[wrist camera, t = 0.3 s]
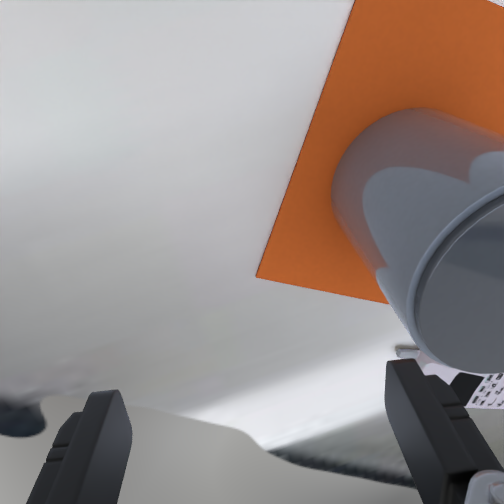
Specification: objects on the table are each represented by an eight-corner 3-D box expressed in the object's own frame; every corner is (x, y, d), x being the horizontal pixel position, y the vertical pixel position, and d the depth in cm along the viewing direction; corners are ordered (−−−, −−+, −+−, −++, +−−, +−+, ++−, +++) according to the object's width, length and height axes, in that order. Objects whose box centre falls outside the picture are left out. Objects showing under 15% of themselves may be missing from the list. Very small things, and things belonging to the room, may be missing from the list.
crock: (369, 85, 29) (499, 139, 16) (508, 132, 32) (711, 210, 19) (308, 235, 34) (370, 362, 22) (432, 264, 37) (551, 392, 24)
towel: (372, -48, 25) (373, -48, 25) (595, 47, 30) (599, 47, 29) (255, 275, 36) (256, 277, 36) (431, 311, 40) (433, 313, 40)
